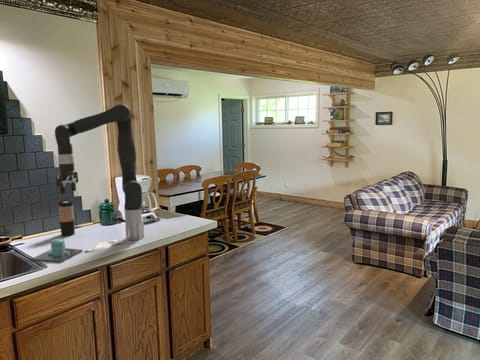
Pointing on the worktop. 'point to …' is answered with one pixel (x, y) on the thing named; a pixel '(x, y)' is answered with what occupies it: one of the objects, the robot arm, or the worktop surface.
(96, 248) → the cloth
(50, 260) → the plate
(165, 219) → the worktop surface
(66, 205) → the travel mug
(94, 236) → the worktop surface
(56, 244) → the teal cap
